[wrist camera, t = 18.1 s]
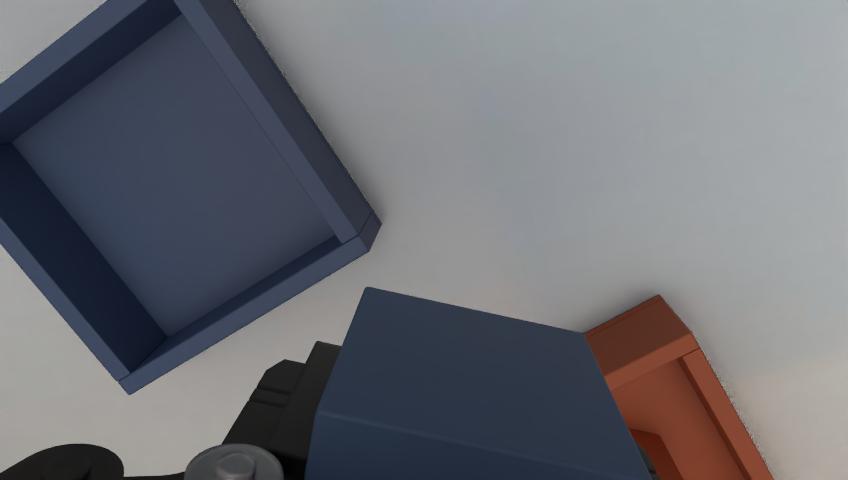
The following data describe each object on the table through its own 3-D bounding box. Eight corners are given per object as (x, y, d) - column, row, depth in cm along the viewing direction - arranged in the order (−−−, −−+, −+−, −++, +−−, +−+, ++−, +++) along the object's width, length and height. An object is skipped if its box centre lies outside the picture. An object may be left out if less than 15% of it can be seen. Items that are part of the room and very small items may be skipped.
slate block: (329, 470, 13) (269, 665, 9) (365, 284, 12) (315, 410, 8) (526, 512, 13) (560, 726, 9) (584, 332, 12) (656, 482, 8)
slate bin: (-5, 134, 27) (-82, 147, 23) (212, -31, 24) (166, -47, 21) (170, 352, 30) (128, 396, 26) (382, 224, 27) (370, 251, 23)
